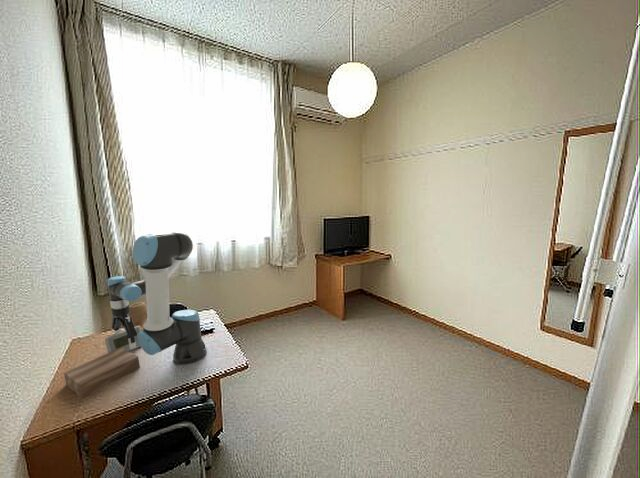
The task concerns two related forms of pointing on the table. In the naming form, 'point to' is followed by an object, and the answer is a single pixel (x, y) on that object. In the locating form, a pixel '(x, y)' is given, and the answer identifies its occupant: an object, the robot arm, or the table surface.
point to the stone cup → (138, 314)
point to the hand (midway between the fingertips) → (126, 344)
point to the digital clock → (121, 340)
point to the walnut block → (101, 371)
